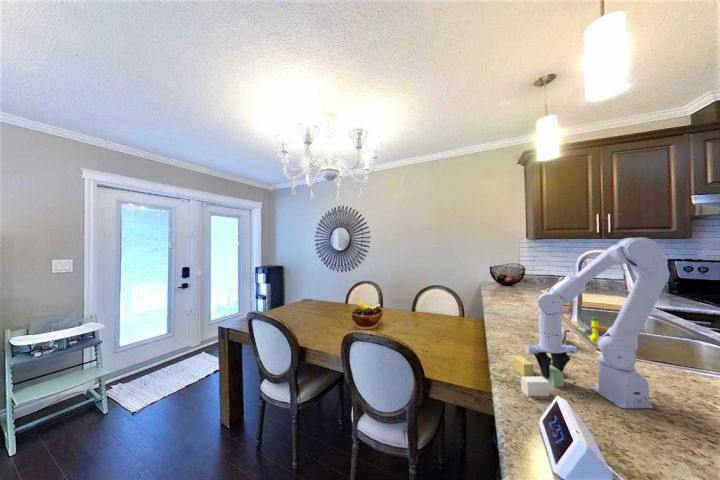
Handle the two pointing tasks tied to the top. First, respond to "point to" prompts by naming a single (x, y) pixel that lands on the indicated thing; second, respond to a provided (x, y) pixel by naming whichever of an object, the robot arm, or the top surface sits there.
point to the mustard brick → (523, 366)
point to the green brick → (554, 377)
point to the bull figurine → (564, 335)
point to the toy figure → (596, 331)
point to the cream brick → (535, 386)
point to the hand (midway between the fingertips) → (551, 376)
